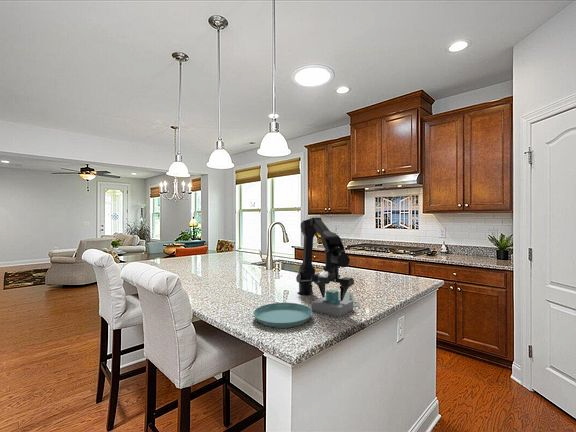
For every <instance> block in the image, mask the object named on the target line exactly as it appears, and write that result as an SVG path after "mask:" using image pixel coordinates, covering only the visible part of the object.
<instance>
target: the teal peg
mask: <svg viewBox="0 0 576 432" xmlns="http://www.w3.org/2000/svg"><path fill="white" fill-rule="evenodd" d="M338 292H339V290H335V289H328V290H325V296H326V302H327V303H331V304H336V303H339V297H338Z"/></svg>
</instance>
